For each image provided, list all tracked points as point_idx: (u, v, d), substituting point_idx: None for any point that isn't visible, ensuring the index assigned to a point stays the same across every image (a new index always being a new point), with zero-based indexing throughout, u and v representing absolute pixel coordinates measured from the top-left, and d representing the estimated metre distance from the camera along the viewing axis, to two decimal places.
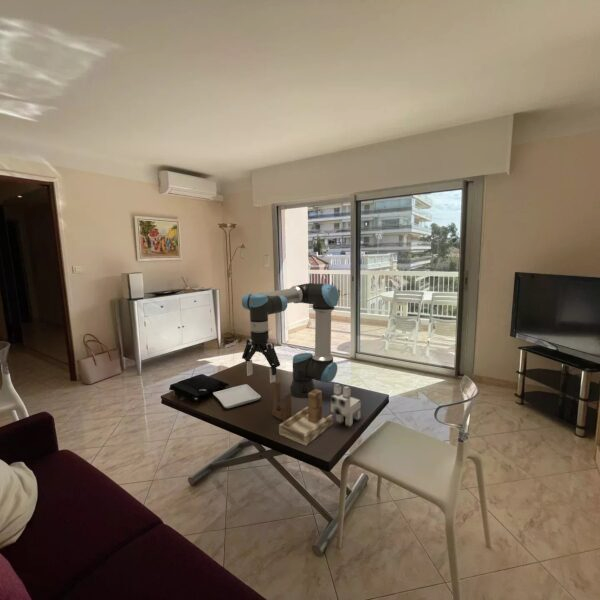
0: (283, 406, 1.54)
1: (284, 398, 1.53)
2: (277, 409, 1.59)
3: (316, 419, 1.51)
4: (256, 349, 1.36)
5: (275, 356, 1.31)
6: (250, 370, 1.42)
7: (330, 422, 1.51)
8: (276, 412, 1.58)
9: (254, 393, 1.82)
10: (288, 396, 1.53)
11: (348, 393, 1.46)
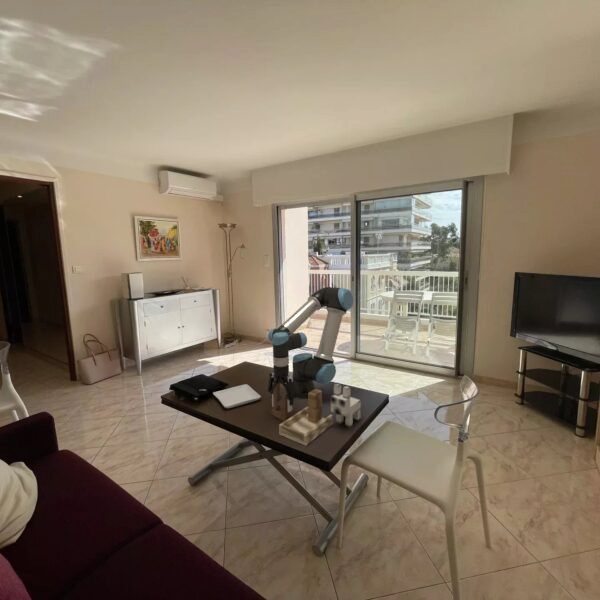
0: (282, 406, 1.54)
1: (283, 398, 1.53)
2: (276, 409, 1.59)
3: (316, 419, 1.51)
4: (278, 381, 1.55)
5: (293, 389, 1.52)
6: None
7: (330, 422, 1.51)
8: (275, 412, 1.59)
9: (254, 393, 1.82)
10: (287, 396, 1.53)
11: (348, 393, 1.46)
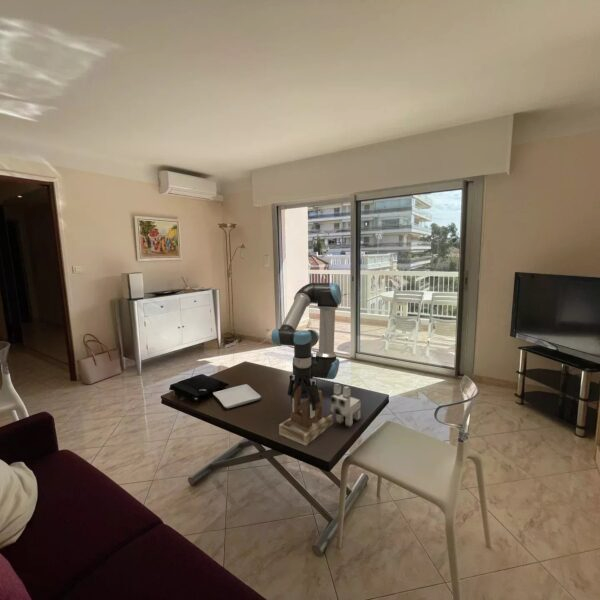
0: (304, 410, 1.41)
1: (305, 402, 1.39)
2: (296, 413, 1.46)
3: (316, 419, 1.51)
4: (299, 383, 1.42)
5: (317, 393, 1.38)
6: None
7: (330, 422, 1.51)
8: (295, 416, 1.46)
9: (254, 393, 1.82)
10: None
11: (348, 393, 1.46)
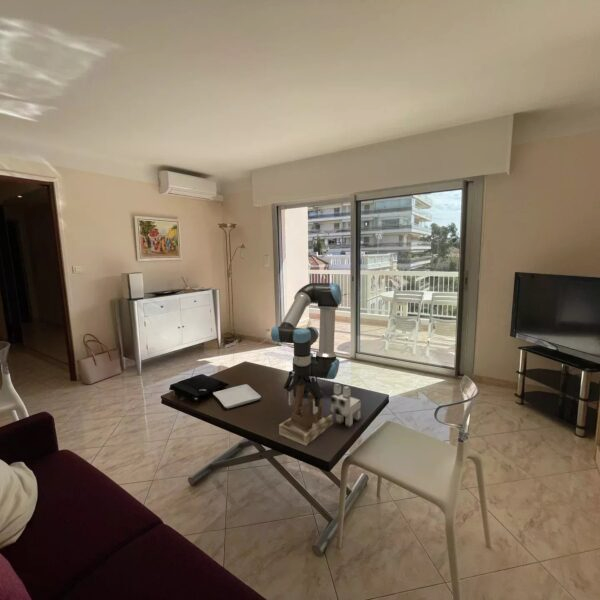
0: (306, 412, 1.41)
1: (308, 404, 1.40)
2: (297, 413, 1.46)
3: (316, 419, 1.51)
4: (299, 381, 1.42)
5: (318, 389, 1.38)
6: (291, 400, 1.48)
7: (330, 422, 1.51)
8: (296, 416, 1.46)
9: (254, 393, 1.82)
10: None
11: (348, 393, 1.46)
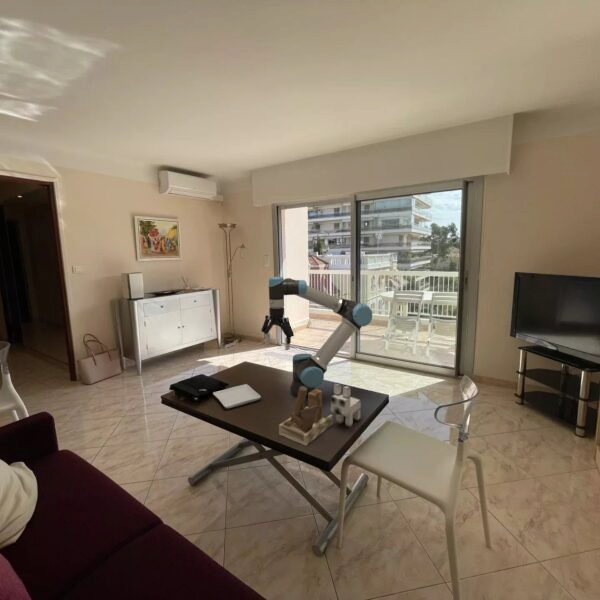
0: (306, 417, 1.40)
1: (310, 410, 1.38)
2: (298, 415, 1.45)
3: (316, 419, 1.51)
4: (274, 323, 1.64)
5: (290, 328, 1.59)
6: (268, 341, 1.69)
7: (330, 422, 1.51)
8: (296, 418, 1.45)
9: (254, 393, 1.82)
10: (314, 408, 1.38)
11: (348, 393, 1.46)
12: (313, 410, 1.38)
